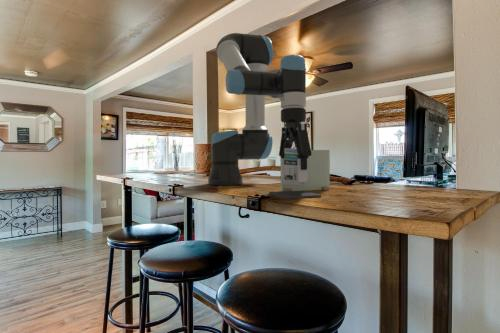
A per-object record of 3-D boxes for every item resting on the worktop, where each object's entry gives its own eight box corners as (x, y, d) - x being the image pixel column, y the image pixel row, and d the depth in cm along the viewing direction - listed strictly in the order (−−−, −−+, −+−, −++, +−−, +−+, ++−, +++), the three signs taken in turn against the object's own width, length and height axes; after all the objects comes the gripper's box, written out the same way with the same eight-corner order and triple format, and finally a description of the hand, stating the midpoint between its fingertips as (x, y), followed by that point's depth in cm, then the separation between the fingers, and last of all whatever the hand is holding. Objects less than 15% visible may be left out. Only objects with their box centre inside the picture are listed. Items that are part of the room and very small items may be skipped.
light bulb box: (305, 186, 83) (308, 148, 83) (281, 184, 84) (284, 147, 84) (304, 183, 93) (306, 150, 93) (283, 182, 95) (285, 149, 94)
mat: (269, 193, 93) (269, 191, 93) (303, 192, 96) (303, 190, 96) (282, 199, 82) (282, 197, 82) (321, 197, 84) (321, 195, 84)
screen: (279, 190, 101) (279, 150, 101) (326, 188, 106) (325, 150, 105) (283, 191, 98) (283, 150, 97) (331, 189, 102) (331, 149, 101)
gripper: (269, 114, 99) (269, 177, 99) (297, 100, 75) (298, 183, 76) (289, 114, 101) (290, 176, 101) (324, 101, 77) (324, 182, 78)
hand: (293, 179), depth 89 cm, fingers closed on light bulb box, 12 cm apart
